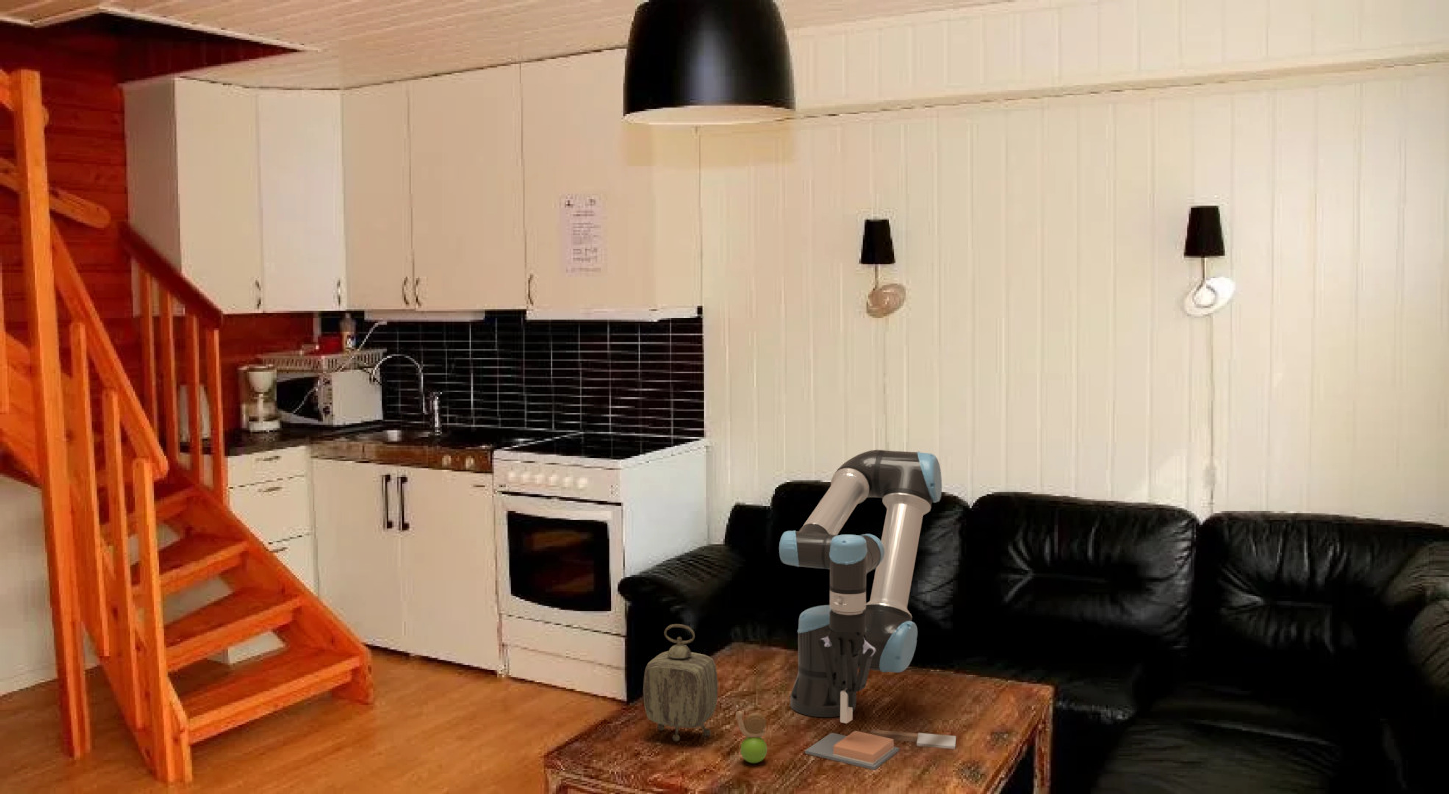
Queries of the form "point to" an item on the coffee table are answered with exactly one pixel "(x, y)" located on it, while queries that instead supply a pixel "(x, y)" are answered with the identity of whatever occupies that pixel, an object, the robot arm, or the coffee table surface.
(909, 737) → the turner
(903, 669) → the robot arm
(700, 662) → the tabletop clock
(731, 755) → the coffee table surface
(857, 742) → the tile
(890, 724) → the coffee table surface
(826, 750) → the mat
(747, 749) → the snail figurine
